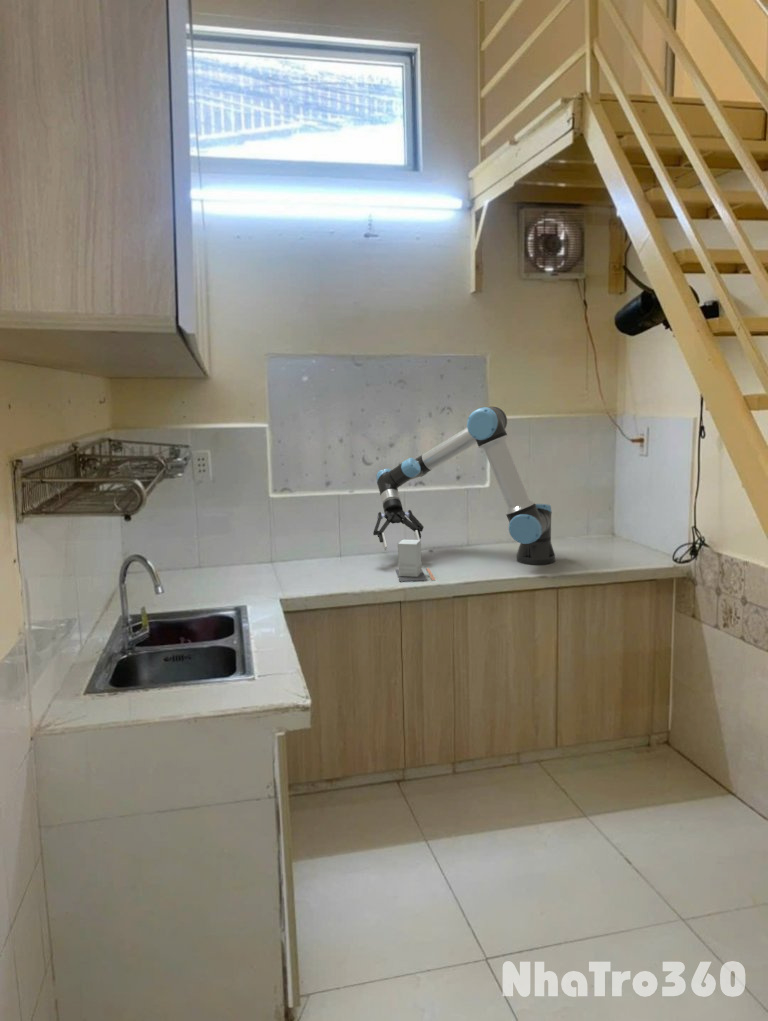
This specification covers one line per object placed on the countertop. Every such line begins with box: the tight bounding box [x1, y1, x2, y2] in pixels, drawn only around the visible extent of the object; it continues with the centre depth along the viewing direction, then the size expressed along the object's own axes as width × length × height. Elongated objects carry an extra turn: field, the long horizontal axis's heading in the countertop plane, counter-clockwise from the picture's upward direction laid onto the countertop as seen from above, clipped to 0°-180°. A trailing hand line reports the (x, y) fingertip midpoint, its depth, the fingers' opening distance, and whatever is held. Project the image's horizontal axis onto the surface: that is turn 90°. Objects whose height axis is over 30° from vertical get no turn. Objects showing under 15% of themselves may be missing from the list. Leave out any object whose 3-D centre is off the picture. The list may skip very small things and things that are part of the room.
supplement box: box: [397, 539, 423, 577], centre depth 257 cm, size 7×7×13 cm
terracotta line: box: [426, 567, 436, 581], centre depth 259 cm, size 1×16×1 cm, turn 4°
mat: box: [395, 568, 428, 582], centre depth 258 cm, size 10×16×1 cm, turn 4°
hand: (402, 547), depth 267 cm, fingers open, 13 cm apart
